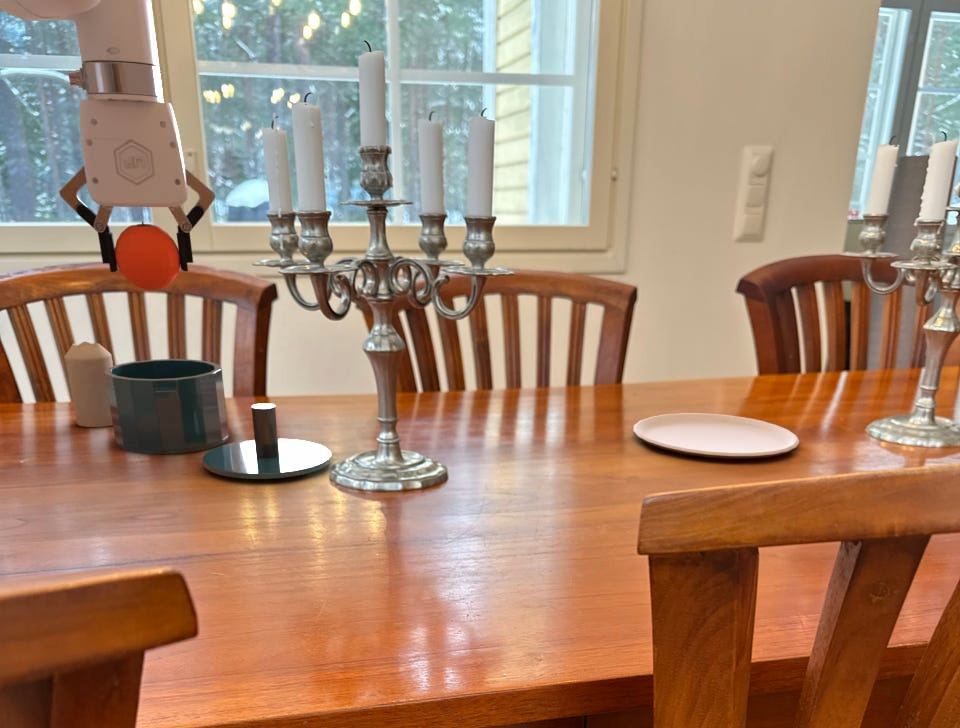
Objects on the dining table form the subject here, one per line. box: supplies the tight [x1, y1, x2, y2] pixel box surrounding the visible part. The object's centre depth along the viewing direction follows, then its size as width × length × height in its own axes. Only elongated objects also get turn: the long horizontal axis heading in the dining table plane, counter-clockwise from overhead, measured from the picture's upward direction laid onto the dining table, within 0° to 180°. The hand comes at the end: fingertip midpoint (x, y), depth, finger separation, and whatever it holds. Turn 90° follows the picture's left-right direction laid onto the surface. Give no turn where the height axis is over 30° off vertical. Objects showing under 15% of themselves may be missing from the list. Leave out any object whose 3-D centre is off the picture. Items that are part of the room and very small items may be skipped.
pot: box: [104, 358, 230, 455], centre depth 108 cm, size 13×19×8 cm
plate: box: [632, 412, 800, 460], centre depth 115 cm, size 21×21×1 cm
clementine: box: [114, 221, 181, 291], centre depth 101 cm, size 8×7×7 cm
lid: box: [202, 403, 332, 480], centre depth 100 cm, size 14×14×7 cm
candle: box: [63, 341, 114, 428], centre depth 115 cm, size 6×6×10 cm
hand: (149, 269), depth 101 cm, fingers closed on clementine, 7 cm apart
